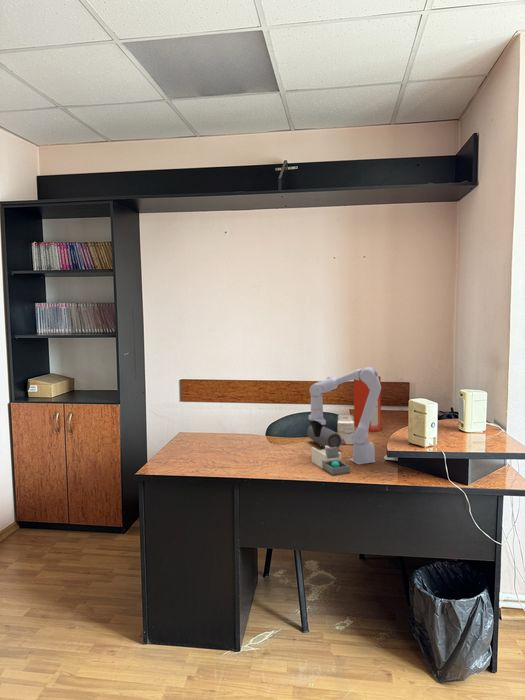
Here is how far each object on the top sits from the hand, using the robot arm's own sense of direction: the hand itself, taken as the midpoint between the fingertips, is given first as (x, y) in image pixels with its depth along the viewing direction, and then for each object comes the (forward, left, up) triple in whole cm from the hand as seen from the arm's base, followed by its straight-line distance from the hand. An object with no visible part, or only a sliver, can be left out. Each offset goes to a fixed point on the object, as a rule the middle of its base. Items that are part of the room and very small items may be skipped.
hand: (317, 436), depth 229 cm
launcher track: (+1, +11, -10) cm, 15 cm away
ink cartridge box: (-25, -17, -11) cm, 32 cm away
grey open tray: (+1, +21, -10) cm, 23 cm away
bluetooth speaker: (-12, -17, -11) cm, 23 cm away
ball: (+1, +20, -8) cm, 21 cm away
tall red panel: (-53, -41, -11) cm, 68 cm away
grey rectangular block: (+1, +17, -5) cm, 17 cm away
